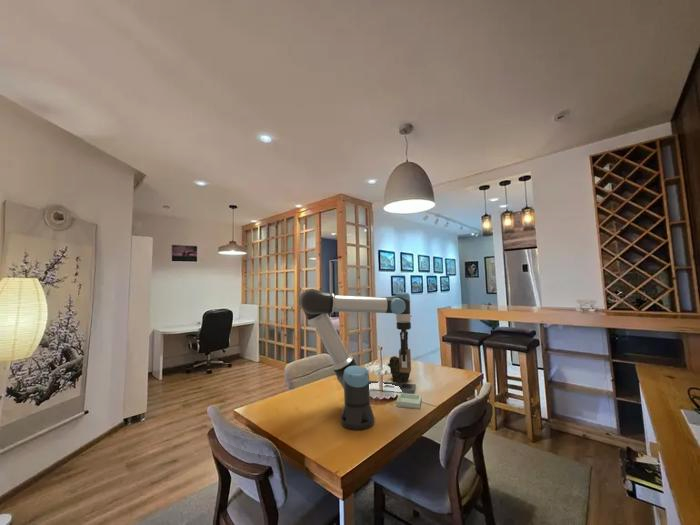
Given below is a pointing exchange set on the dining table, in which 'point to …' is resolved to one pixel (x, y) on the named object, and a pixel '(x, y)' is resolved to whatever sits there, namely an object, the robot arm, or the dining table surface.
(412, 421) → the dining table surface
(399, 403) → the tray
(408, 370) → the block
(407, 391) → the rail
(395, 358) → the rock
